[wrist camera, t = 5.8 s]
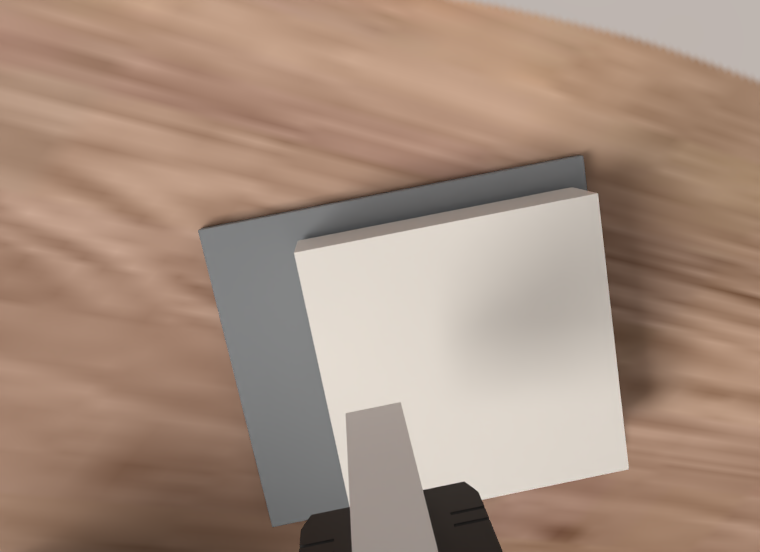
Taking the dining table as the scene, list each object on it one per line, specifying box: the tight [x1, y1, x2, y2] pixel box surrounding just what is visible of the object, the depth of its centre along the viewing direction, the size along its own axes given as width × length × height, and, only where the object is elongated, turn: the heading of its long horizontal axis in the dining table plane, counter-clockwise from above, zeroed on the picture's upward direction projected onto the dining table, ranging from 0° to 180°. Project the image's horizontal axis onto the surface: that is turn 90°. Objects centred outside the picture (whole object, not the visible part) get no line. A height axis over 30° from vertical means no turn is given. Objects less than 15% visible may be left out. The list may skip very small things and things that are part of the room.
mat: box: [198, 155, 587, 527], centre depth 25 cm, size 12×14×1 cm
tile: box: [294, 187, 629, 507], centre depth 24 cm, size 10×3×10 cm
